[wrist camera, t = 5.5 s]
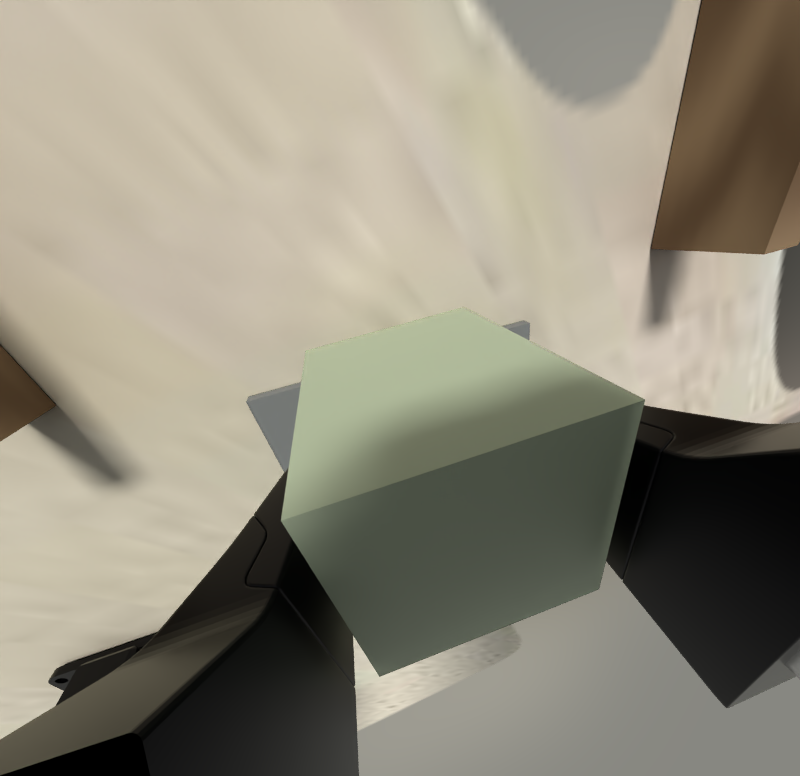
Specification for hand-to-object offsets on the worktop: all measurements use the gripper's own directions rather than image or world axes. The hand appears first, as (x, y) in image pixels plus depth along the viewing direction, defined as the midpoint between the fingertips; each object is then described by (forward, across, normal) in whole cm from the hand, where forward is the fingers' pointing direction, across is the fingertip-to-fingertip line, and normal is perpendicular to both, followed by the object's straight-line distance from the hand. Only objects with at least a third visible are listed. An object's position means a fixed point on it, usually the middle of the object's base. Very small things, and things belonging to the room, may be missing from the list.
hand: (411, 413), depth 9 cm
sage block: (+1, 0, 0) cm, 1 cm away
